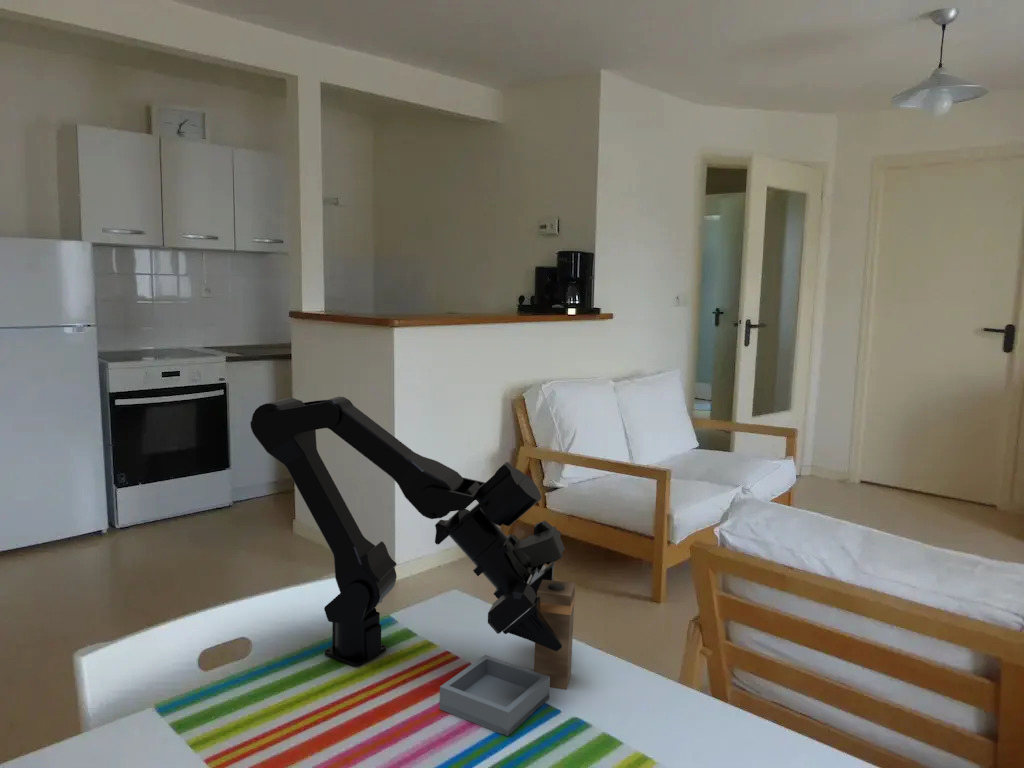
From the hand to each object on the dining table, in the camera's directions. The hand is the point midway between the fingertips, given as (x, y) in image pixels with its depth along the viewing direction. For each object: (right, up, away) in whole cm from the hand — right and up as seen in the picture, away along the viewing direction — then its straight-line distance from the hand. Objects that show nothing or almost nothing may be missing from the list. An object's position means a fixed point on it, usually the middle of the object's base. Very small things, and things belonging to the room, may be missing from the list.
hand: (564, 633), depth 101 cm
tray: (-9, -7, -6) cm, 13 cm away
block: (-2, -7, +1) cm, 7 cm away
